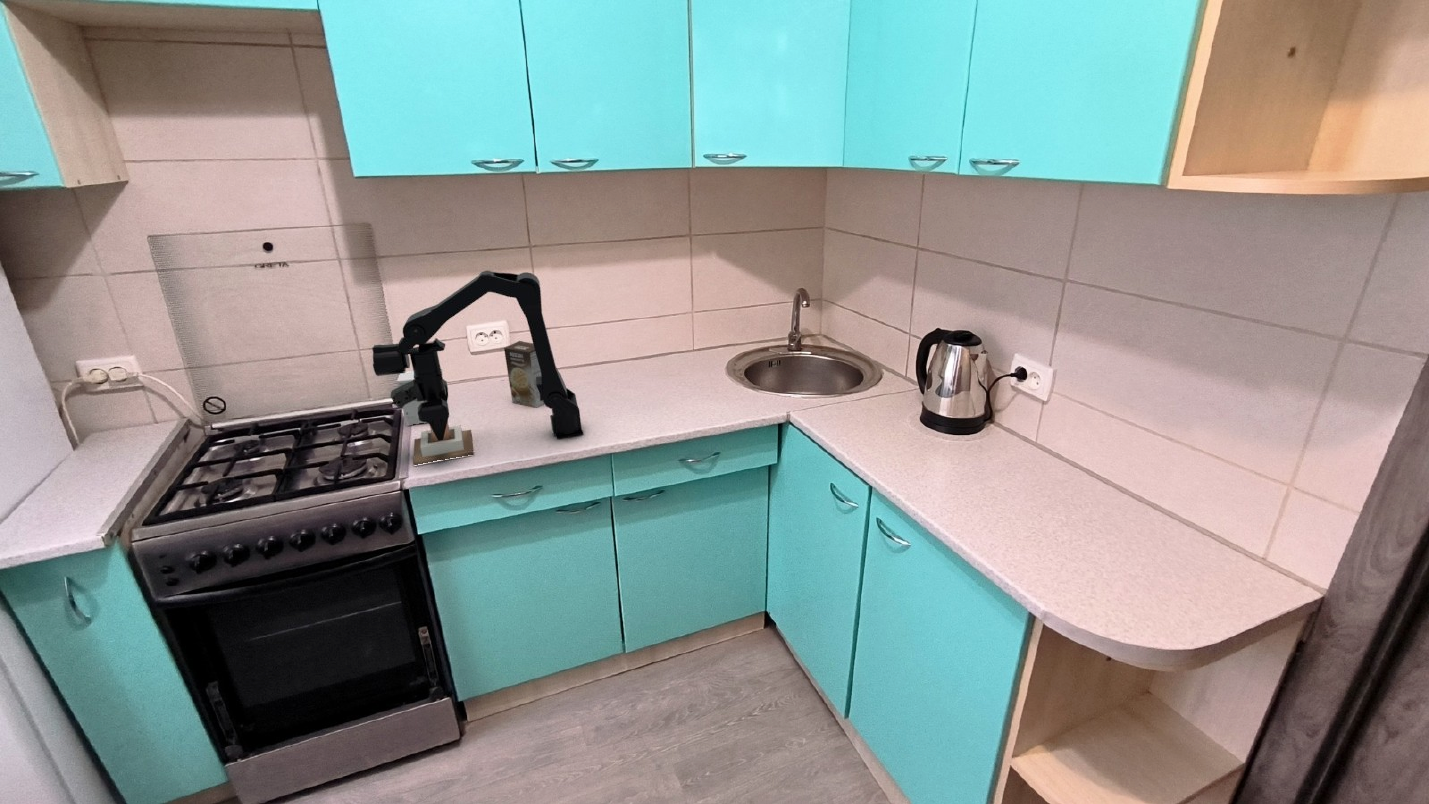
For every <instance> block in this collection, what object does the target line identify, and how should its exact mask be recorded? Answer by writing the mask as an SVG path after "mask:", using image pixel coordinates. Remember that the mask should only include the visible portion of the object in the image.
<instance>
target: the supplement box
mask: <svg viewBox="0 0 1429 804" xmlns="http://www.w3.org/2000/svg"><path fill="white" fill-rule="evenodd" d="M413 379H414V371H413V370H409V371H408V370H407V371H405V373H401V374H398V378H397V379H396V383H397V388H398V387H400V386H402V385H404V384H406V383H408V382H411V381H413ZM421 403H424V401H419V402H418V401H417V399H415V400H414V401H412V402H410V403H408V404H406V405H404V407H402V409H403V414H404V418H405V419H404V420H405V425H406V427H410V426H413V424H416V425H420V424H419V423H424V424H427V423H426V422H422V421H419V417H418V407H419V405H420V404H421Z"/></svg>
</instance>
